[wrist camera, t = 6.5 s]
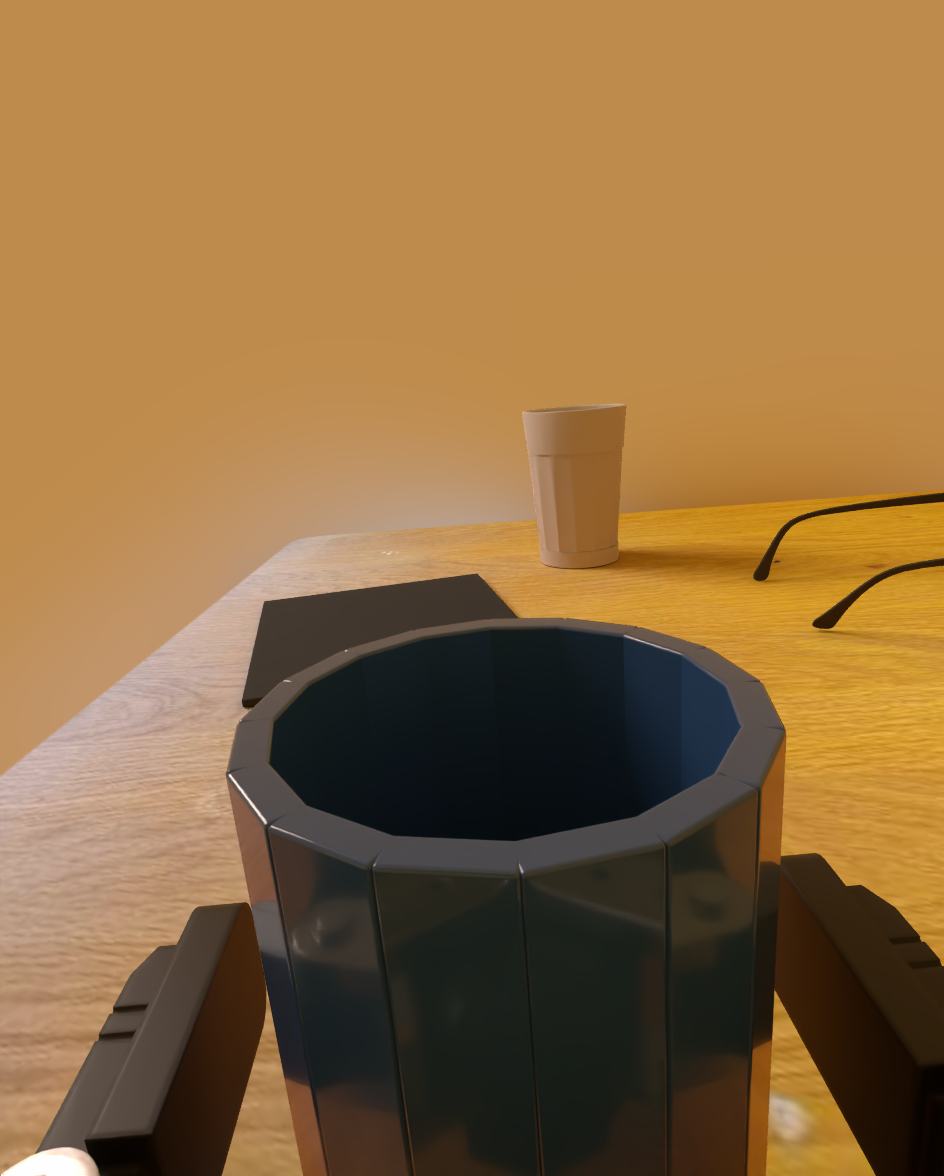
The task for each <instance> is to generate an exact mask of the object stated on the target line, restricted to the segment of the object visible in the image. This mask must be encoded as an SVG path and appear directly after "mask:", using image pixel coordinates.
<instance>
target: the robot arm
mask: <svg viewBox="0 0 944 1176" xmlns="http://www.w3.org/2000/svg"><path fill="white" fill-rule="evenodd" d="M774 989H775V991H776V993H777V995H778V996H779V998H780V1000H781V1002H782V1004H783V1006H784V1007H785V1009H786V1011H787V1013H788V1015H789V1017H790V1018H791V1020H792V1022H793V1024H794V1026H795V1028H796V1029H797V1031H798V1033H799V1035H800V1037H801V1039H802V1041H803V1042H804V1044H805V1046H806V1048H807V1050H808V1052H809V1053H810V1055H811V1057H812V1059H813V1061H814V1063H815V1064H816V1066H817V1068H818V1070H819V1072H820V1074H821V1075H822V1077H823V1079H824V1081H825V1083H826V1085H827V1087H828V1088H829V1090H830V1092H831V1094H832V1096H833V1098H834V1099H835V1101H836V1103H837V1105H838V1107H839V1109H840V1110H841V1112H842V1114H843V1116H844V1118H845V1120H846V1121H847V1123H848V1125H849V1127H850V1129H851V1131H852V1133H853V1134H854V1136H855V1138H856V1140H857V1142H858V1144H859V1145H860V1147H861V1149H862V1151H863V1153H864V1155H865V1156H866V1158H867V1160H868V1162H869V1164H870V1166H871V1167H872V1169H873V1171H874V1173H875V1175H876V1176H944V966H942V965H941V963H940V959H939V958H938V957H937V956H936V954H935V953H934V952H933V951H932V950H931V949H930V947H929V946H928V945H927V944H926V943H925V942H921V940H920V936H919V935H918V933H917V932H916V931H915V930H914V929H913V928H912V926H911V925H910V924H909V923H908V922H907V921H906V919H905V918H904V917H903V916H902V915H901V914H900V912H899V911H898V910H897V909H896V908H895V907H894V906H892V905H891V904H889V903H888V902H886V901H885V900H883V899H882V898H880V897H879V896H877V895H876V894H874V893H873V892H871V891H870V890H868V889H867V888H865V887H864V886H862V885H855V886H846V885H845V884H844V883H843V882H842V880H841V879H840V878H839V877H838V875H837V874H836V873H835V872H834V870H833V869H832V868H831V867H830V865H829V864H828V863H827V862H826V860H825V859H824V858H823V857H822V856H821V855H819V854H817V853H810V854H799V855H788V856H781V859H780V881H779V902H778V923H777V945H776V966H775V987H774ZM265 1013H266V983H265V977H264V972H263V967H262V961H261V956H260V951H259V946H258V941H257V935H256V930H255V925H254V920H253V915H252V911H251V908H250V906H249V904H248V903H246V902H244V903H233V904H222V905H211V906H200V907H197V908H196V909H195V910H194V911H193V912H192V914H191V916H190V918H189V920H188V922H187V925H186V927H185V929H184V931H183V933H182V935H181V937H180V939H179V941H178V943H177V945H170V946H159V947H158V948H157V949H156V950H155V951H154V952H153V953H152V954H151V955H150V956H149V957H148V958H147V959H146V960H145V961H144V962H143V963H142V964H141V965H140V966H139V967H138V968H137V969H136V970H135V971H134V972H133V973H132V974H131V975H130V977H129V979H128V981H127V983H126V984H125V986H124V988H123V990H122V992H121V994H120V996H119V998H118V999H117V1001H116V1003H115V1005H114V1007H113V1014H110V1015H109V1016H108V1018H107V1020H106V1022H105V1024H104V1026H103V1028H102V1030H101V1032H100V1033H99V1040H98V1041H97V1042H95V1043H94V1045H93V1047H92V1049H91V1050H90V1052H89V1054H88V1056H87V1058H86V1060H85V1062H84V1064H83V1065H82V1067H81V1069H80V1071H79V1073H78V1075H77V1077H76V1079H75V1081H74V1082H73V1084H72V1086H71V1088H70V1090H69V1092H68V1094H67V1096H66V1098H65V1099H64V1101H63V1103H62V1105H61V1107H60V1109H59V1111H58V1113H57V1115H56V1116H55V1118H54V1120H53V1122H52V1124H51V1126H50V1128H49V1130H48V1132H47V1133H46V1135H45V1137H44V1139H43V1141H42V1143H41V1145H40V1147H39V1148H38V1150H37V1152H36V1153H35V1155H32V1156H30V1157H28V1158H26V1159H24V1160H22V1161H21V1162H19V1163H17V1164H15V1165H14V1166H12V1167H11V1168H9V1169H8V1170H7V1171H5V1172H4V1173H2V1174H1V1175H0V1176H222V1172H223V1169H224V1165H225V1162H226V1158H227V1155H228V1151H229V1147H230V1144H231V1140H232V1137H233V1133H234V1130H235V1126H236V1123H237V1119H238V1115H239V1112H240V1108H241V1105H242V1101H243V1098H244V1094H245V1091H246V1087H247V1083H248V1080H249V1076H250V1073H251V1069H252V1066H253V1062H254V1059H255V1055H256V1051H257V1048H258V1044H259V1041H260V1037H261V1034H262V1030H263V1026H264V1020H265Z"/></svg>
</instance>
